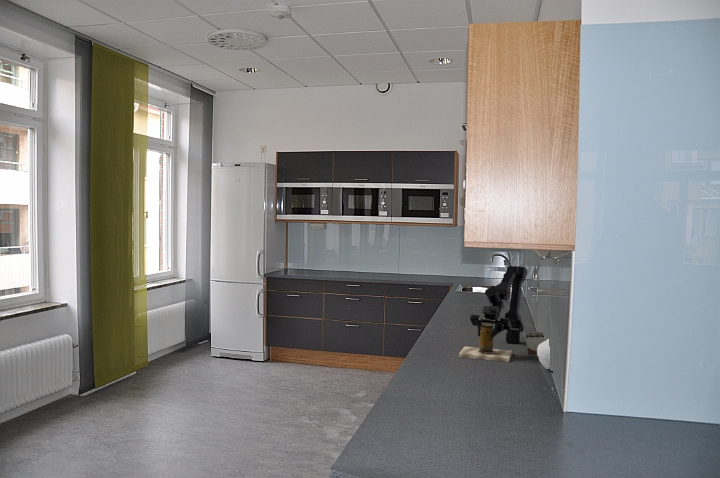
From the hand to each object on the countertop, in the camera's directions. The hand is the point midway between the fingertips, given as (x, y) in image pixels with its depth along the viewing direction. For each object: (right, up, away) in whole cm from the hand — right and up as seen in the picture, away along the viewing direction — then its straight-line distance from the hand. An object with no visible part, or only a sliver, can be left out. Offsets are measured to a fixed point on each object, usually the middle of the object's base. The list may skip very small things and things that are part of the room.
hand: (485, 336), depth 255 cm
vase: (+26, -10, -23) cm, 36 cm away
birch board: (+1, -9, +1) cm, 9 cm away
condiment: (+1, -7, +1) cm, 7 cm away
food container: (+25, -9, +5) cm, 27 cm away
